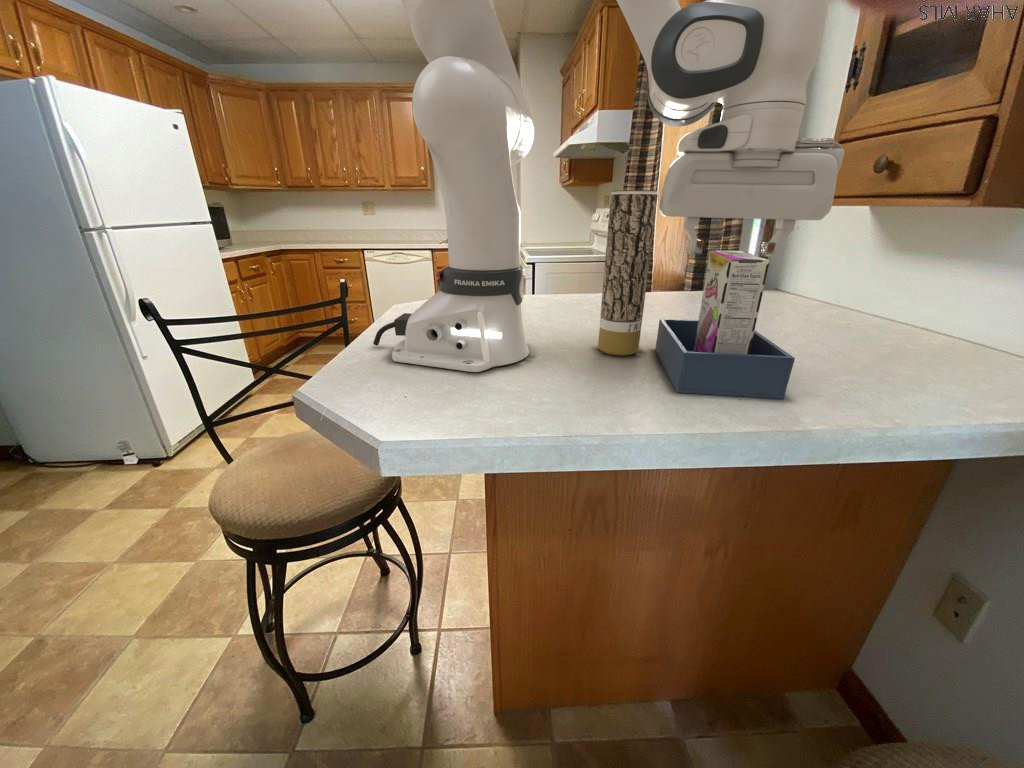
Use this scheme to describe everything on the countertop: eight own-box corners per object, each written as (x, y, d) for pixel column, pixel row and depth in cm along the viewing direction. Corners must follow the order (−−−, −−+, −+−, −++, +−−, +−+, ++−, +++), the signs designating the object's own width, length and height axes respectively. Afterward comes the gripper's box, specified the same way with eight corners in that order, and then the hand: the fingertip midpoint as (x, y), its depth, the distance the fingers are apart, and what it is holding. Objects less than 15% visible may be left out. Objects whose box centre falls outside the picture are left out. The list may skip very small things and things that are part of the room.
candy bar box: (690, 355, 69) (708, 249, 62) (722, 357, 68) (744, 250, 61) (705, 380, 59) (729, 257, 52) (744, 383, 58) (773, 258, 51)
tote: (677, 392, 56) (683, 352, 54) (655, 350, 73) (659, 318, 71) (783, 399, 54) (795, 358, 52) (736, 354, 71) (743, 321, 69)
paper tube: (593, 354, 71) (607, 190, 61) (601, 343, 77) (615, 192, 67) (635, 359, 69) (656, 189, 59) (640, 347, 74) (659, 191, 65)
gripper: (834, 141, 53) (802, 255, 59) (666, 141, 56) (650, 250, 61) (864, 133, 48) (826, 260, 53) (676, 133, 50) (657, 254, 56)
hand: (730, 255), depth 57 cm, fingers open, 8 cm apart
